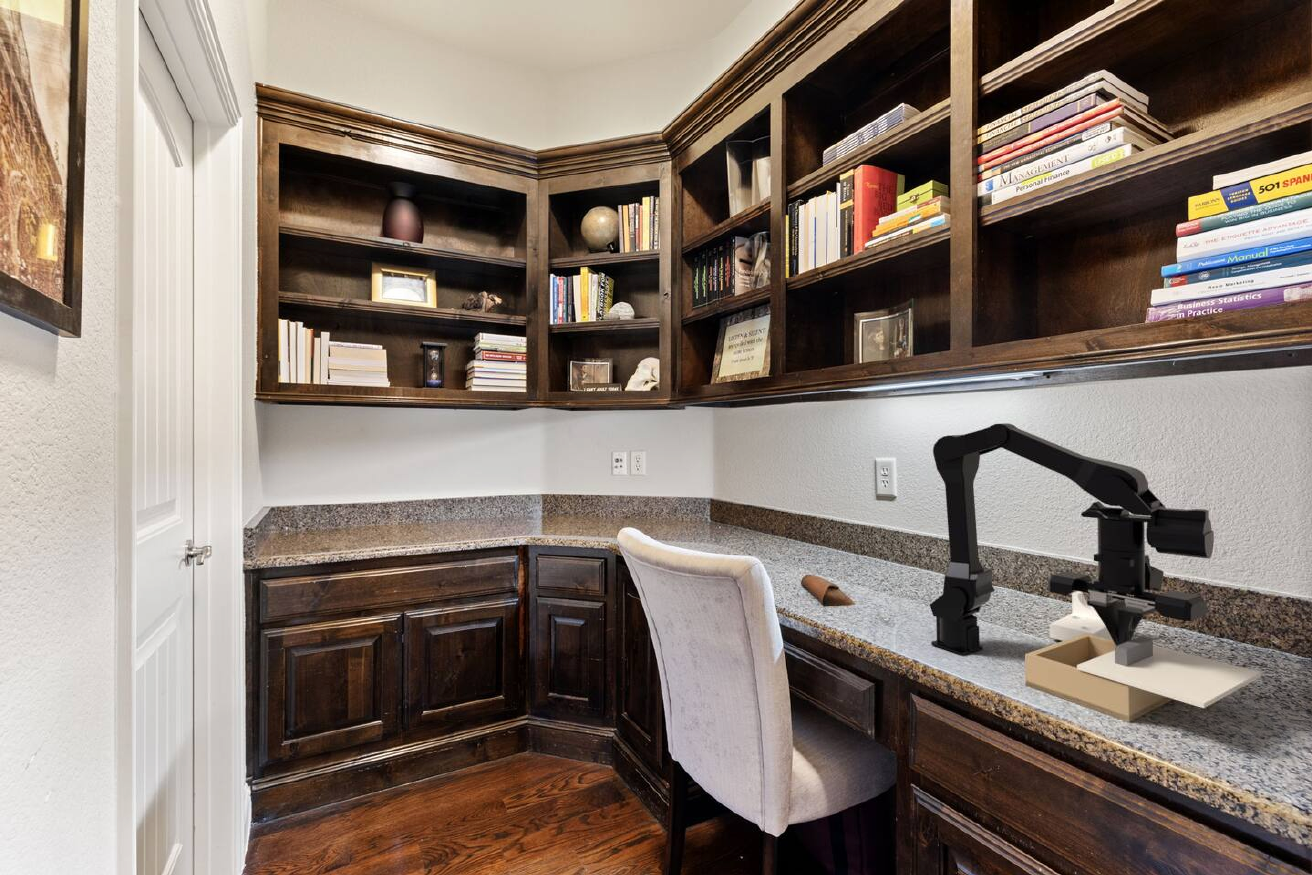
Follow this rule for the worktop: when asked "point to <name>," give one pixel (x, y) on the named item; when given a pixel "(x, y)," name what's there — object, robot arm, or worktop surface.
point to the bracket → (1079, 621)
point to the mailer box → (1086, 679)
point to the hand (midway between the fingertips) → (1122, 649)
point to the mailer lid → (1170, 672)
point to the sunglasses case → (825, 591)
